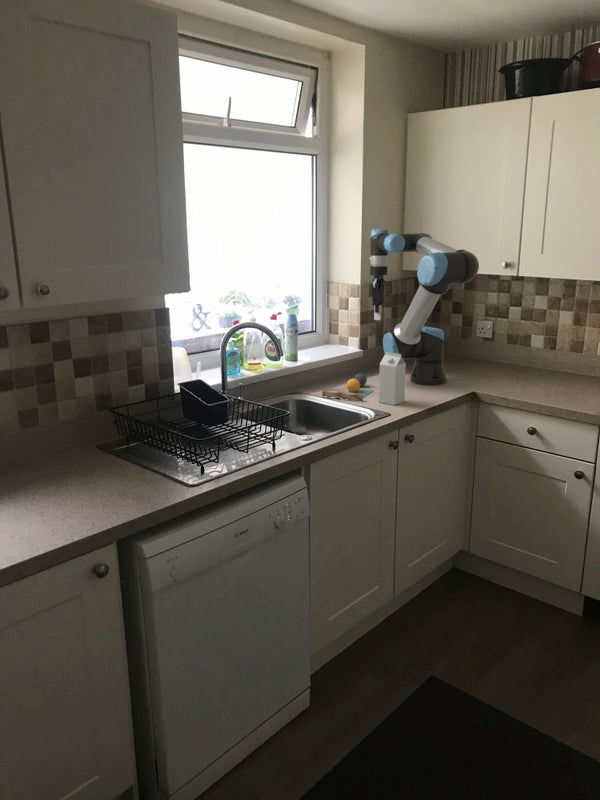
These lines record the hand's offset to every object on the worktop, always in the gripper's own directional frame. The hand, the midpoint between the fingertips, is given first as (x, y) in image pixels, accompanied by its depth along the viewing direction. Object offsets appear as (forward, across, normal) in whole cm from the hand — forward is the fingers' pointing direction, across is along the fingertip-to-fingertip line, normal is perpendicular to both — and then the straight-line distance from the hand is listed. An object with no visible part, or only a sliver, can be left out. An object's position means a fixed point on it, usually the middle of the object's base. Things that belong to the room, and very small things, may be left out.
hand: (377, 319), depth 290 cm
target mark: (+24, +38, +2) cm, 45 cm away
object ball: (+22, +36, +2) cm, 42 cm away
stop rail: (+24, +47, +2) cm, 53 cm away
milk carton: (+25, +44, +21) cm, 55 cm away
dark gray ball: (+22, +26, +2) cm, 34 cm away
